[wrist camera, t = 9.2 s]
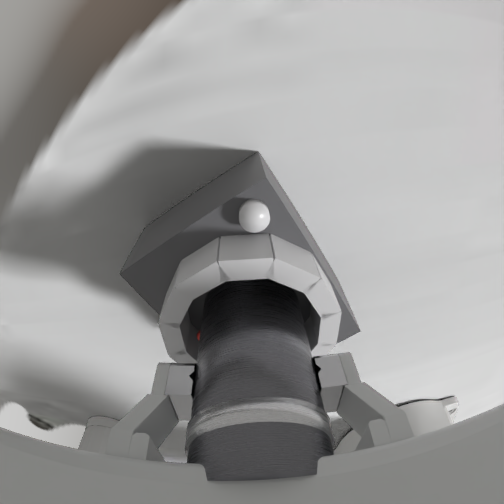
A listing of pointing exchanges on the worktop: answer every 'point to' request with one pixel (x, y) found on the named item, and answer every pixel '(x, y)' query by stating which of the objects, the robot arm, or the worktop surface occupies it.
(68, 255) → the worktop surface
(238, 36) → the worktop surface
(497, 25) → the worktop surface
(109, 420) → the cup
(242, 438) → the lens
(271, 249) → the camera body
